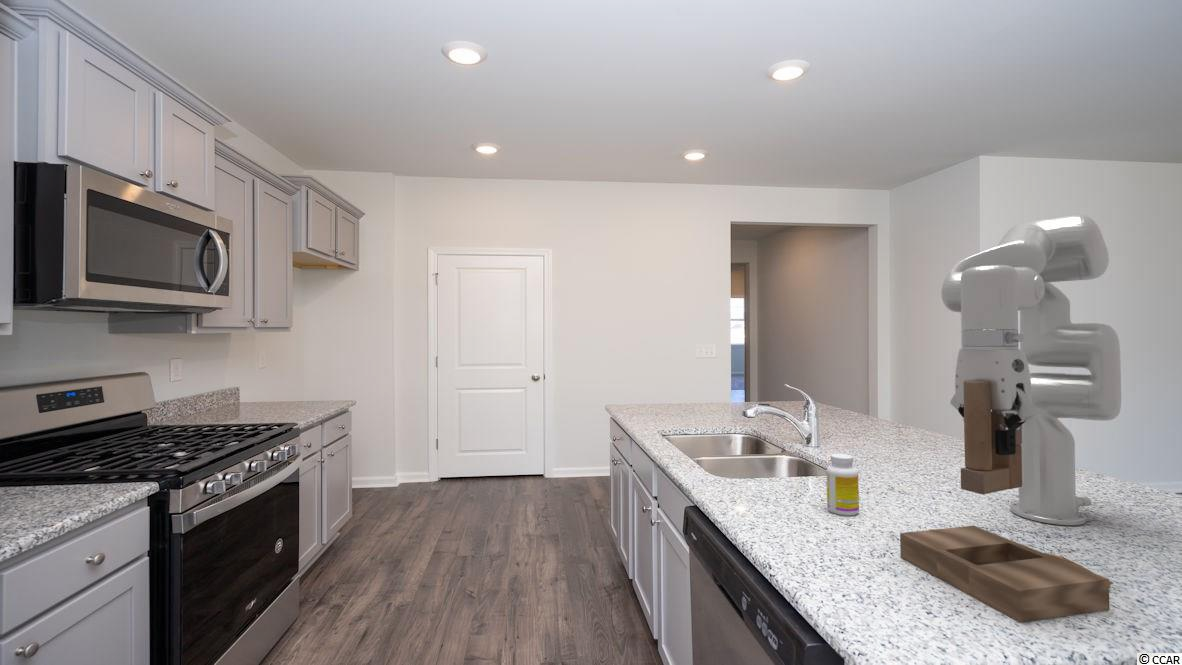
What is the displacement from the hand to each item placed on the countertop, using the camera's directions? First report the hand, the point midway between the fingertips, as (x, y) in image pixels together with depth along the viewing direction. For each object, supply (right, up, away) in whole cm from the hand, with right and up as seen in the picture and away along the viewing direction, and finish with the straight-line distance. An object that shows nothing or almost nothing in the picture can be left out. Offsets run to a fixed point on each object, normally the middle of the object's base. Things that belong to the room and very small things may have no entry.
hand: (991, 449), depth 86 cm
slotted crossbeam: (+1, -22, 0) cm, 22 cm away
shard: (+16, -22, +4) cm, 27 cm away
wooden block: (0, -7, 0) cm, 7 cm away
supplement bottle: (-8, -22, +34) cm, 41 cm away
